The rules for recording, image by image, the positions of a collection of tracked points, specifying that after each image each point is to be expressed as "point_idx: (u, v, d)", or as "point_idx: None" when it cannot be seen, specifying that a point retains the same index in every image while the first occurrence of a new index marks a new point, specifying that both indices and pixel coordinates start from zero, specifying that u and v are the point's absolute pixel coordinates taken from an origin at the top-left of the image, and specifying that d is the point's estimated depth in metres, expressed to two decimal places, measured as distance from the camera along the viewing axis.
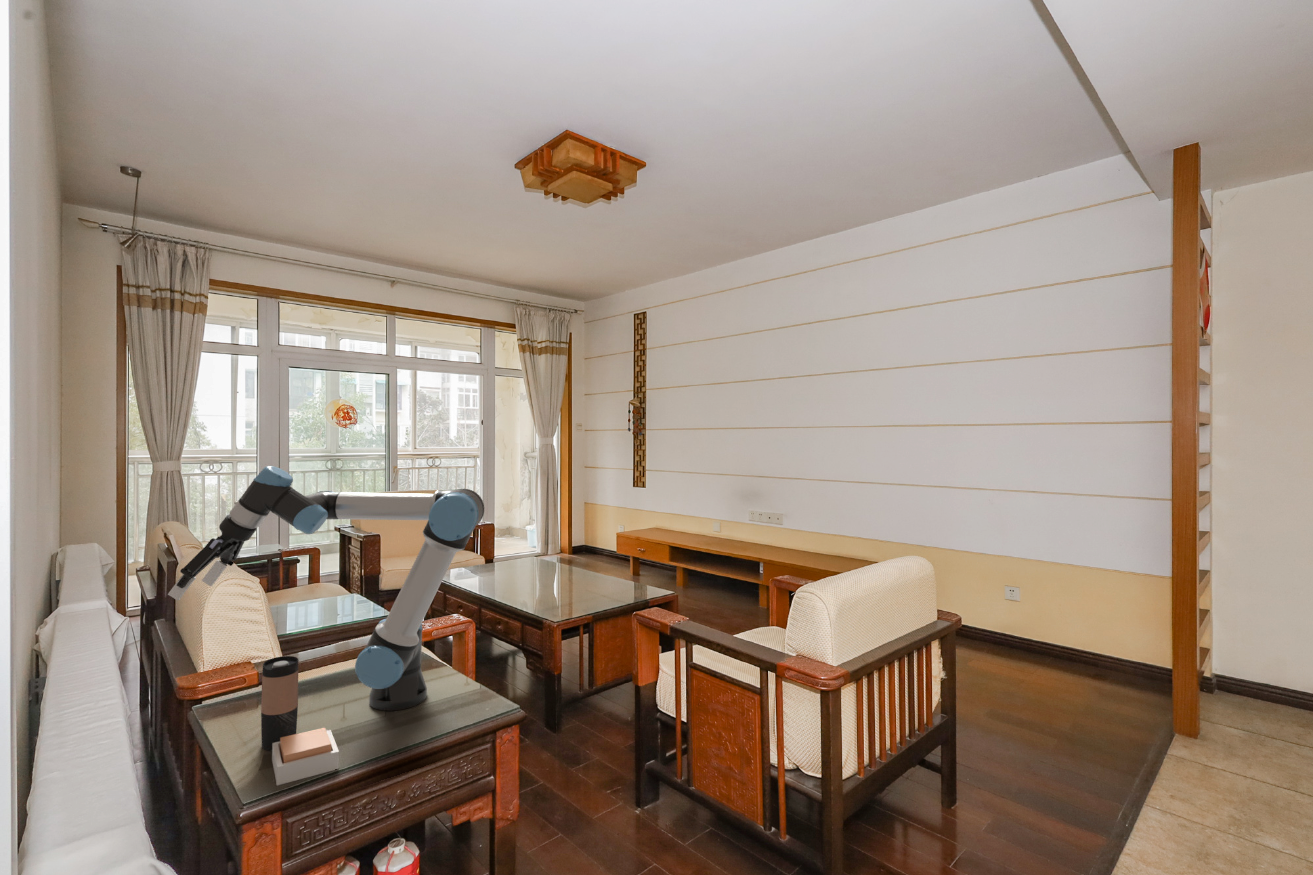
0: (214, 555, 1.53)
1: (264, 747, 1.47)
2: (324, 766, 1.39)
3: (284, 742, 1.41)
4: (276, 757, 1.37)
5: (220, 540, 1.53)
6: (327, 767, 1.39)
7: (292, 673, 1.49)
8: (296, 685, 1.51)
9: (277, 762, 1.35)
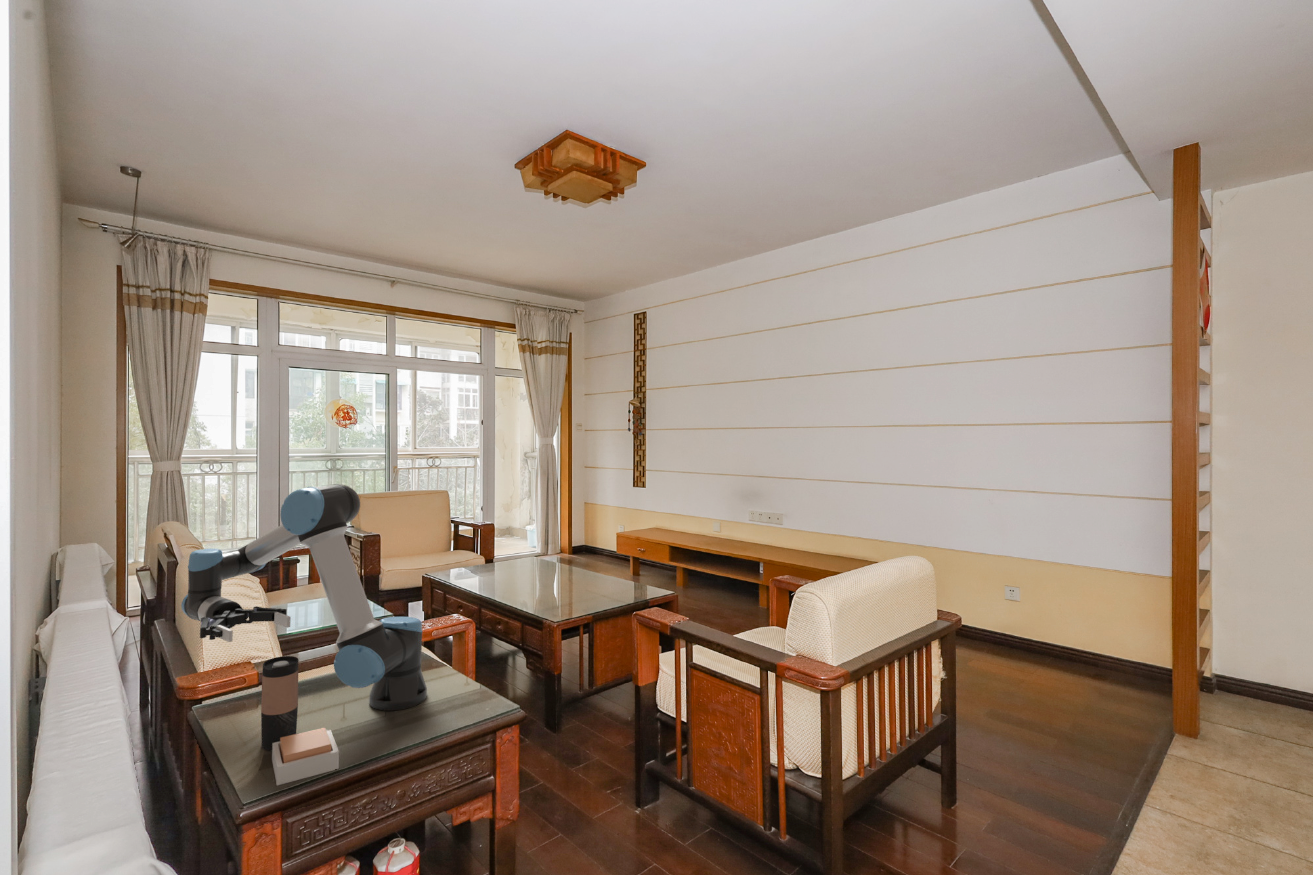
0: None
1: (264, 747, 1.47)
2: (324, 766, 1.39)
3: (284, 742, 1.41)
4: (276, 757, 1.37)
5: None
6: (327, 767, 1.39)
7: (292, 673, 1.49)
8: (296, 685, 1.51)
9: (277, 762, 1.35)
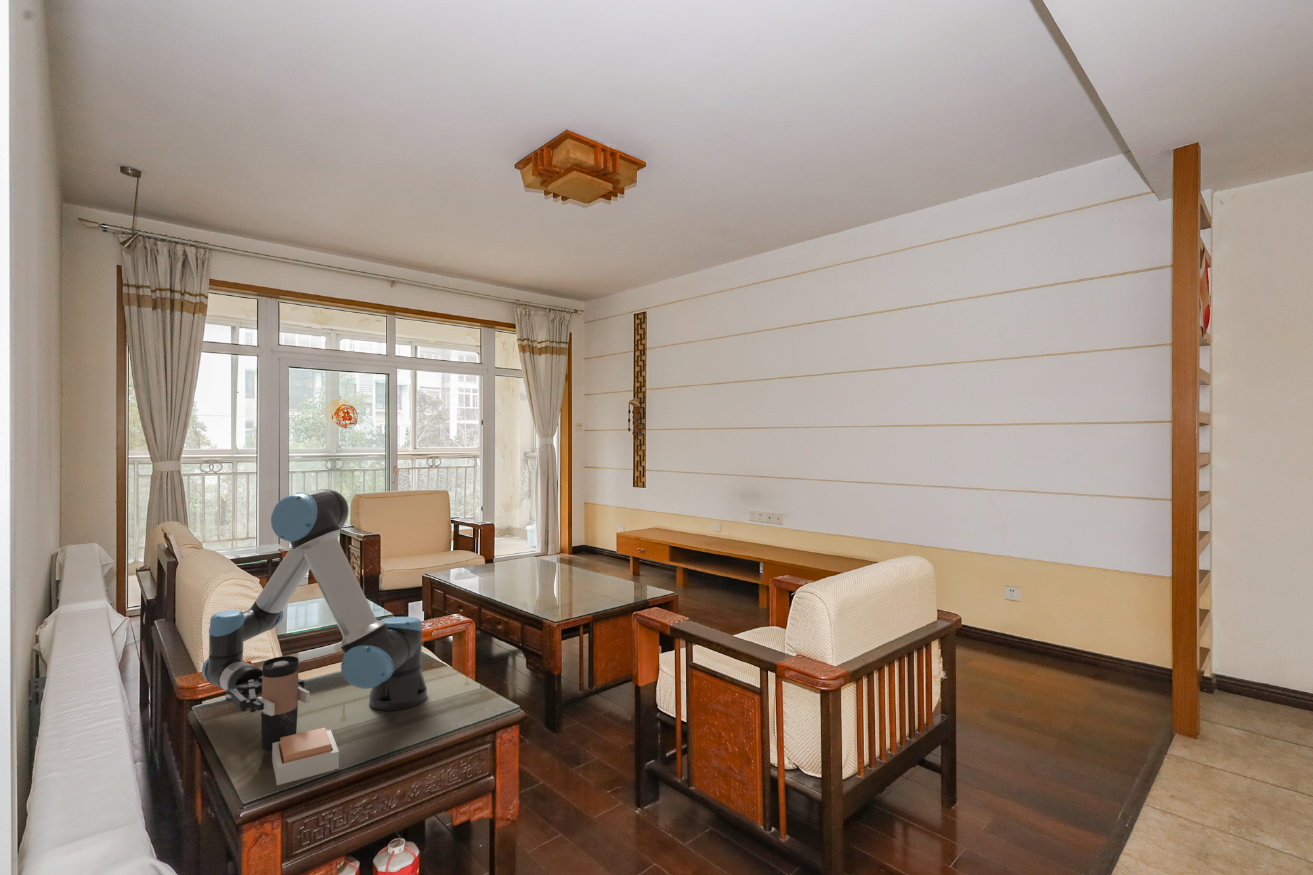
0: (248, 690, 1.52)
1: (264, 747, 1.47)
2: (324, 766, 1.39)
3: (284, 742, 1.41)
4: (276, 757, 1.37)
5: None
6: (327, 767, 1.39)
7: (292, 673, 1.49)
8: (296, 685, 1.51)
9: (277, 762, 1.35)
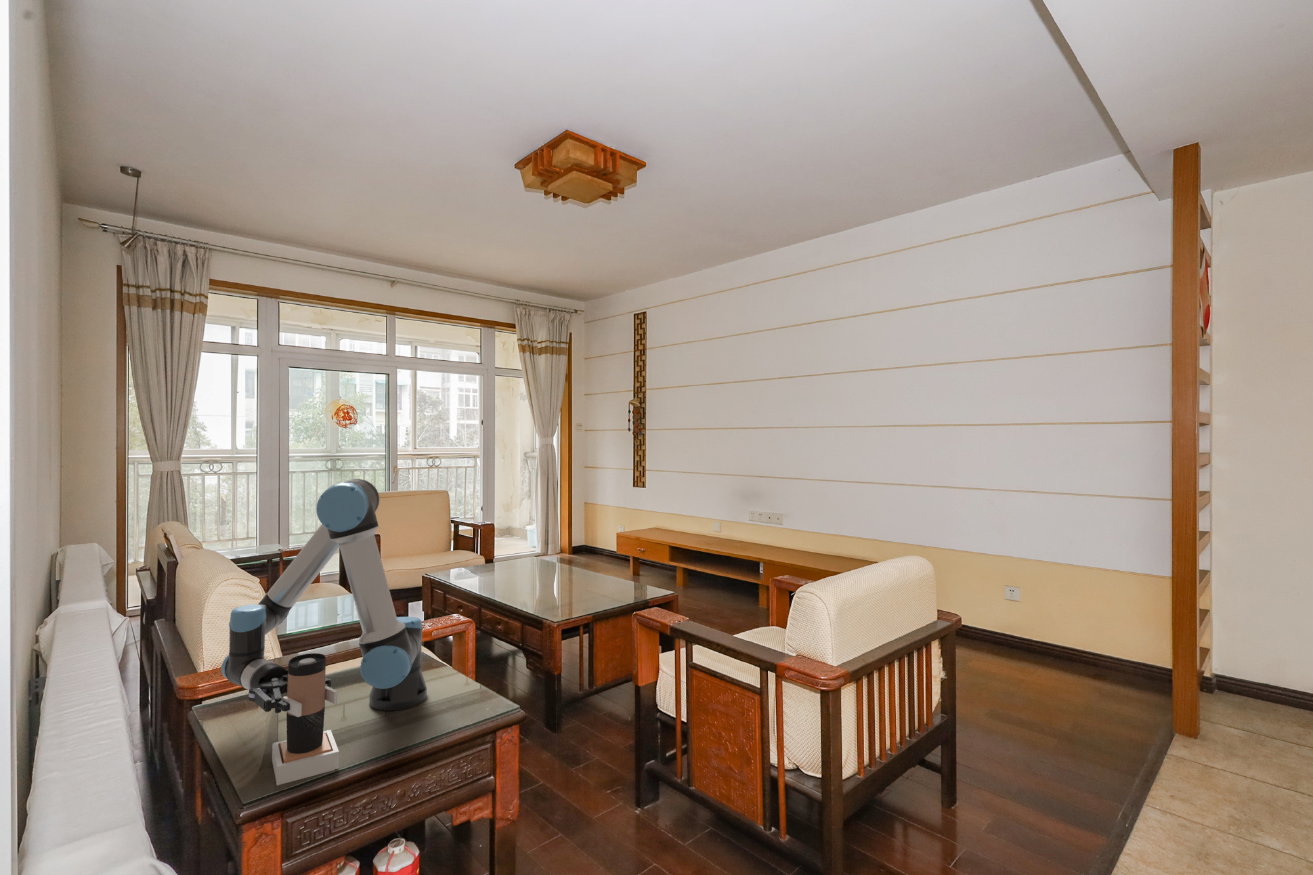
0: (273, 689, 1.43)
1: (290, 750, 1.38)
2: (324, 766, 1.39)
3: (284, 747, 1.41)
4: (276, 757, 1.37)
5: None
6: (327, 767, 1.39)
7: (319, 672, 1.40)
8: (323, 684, 1.42)
9: (277, 762, 1.35)
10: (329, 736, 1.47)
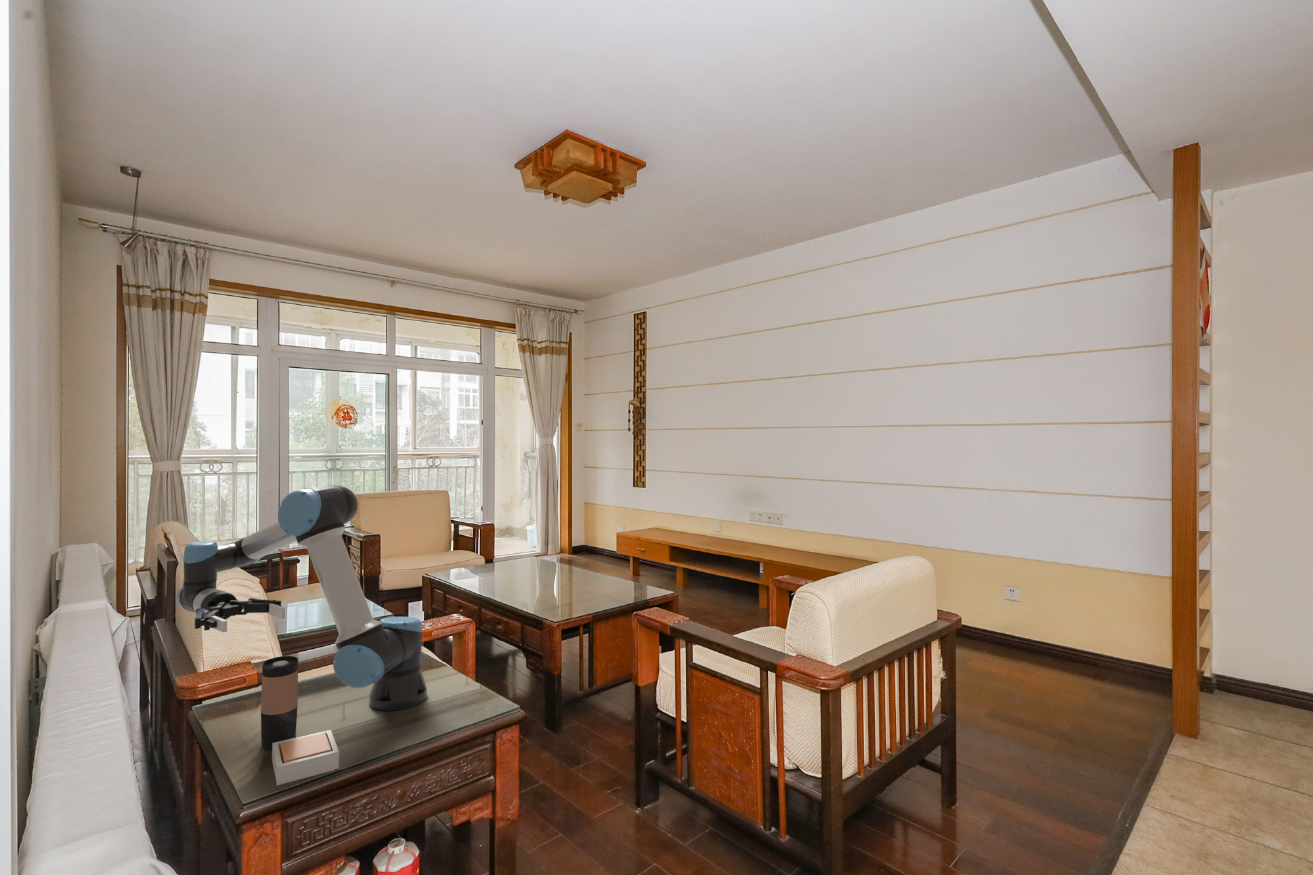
0: None
1: (264, 747, 1.48)
2: (324, 766, 1.39)
3: (284, 747, 1.41)
4: (276, 757, 1.37)
5: None
6: (327, 767, 1.39)
7: (292, 673, 1.49)
8: (296, 685, 1.51)
9: (277, 762, 1.35)
10: (329, 736, 1.47)
